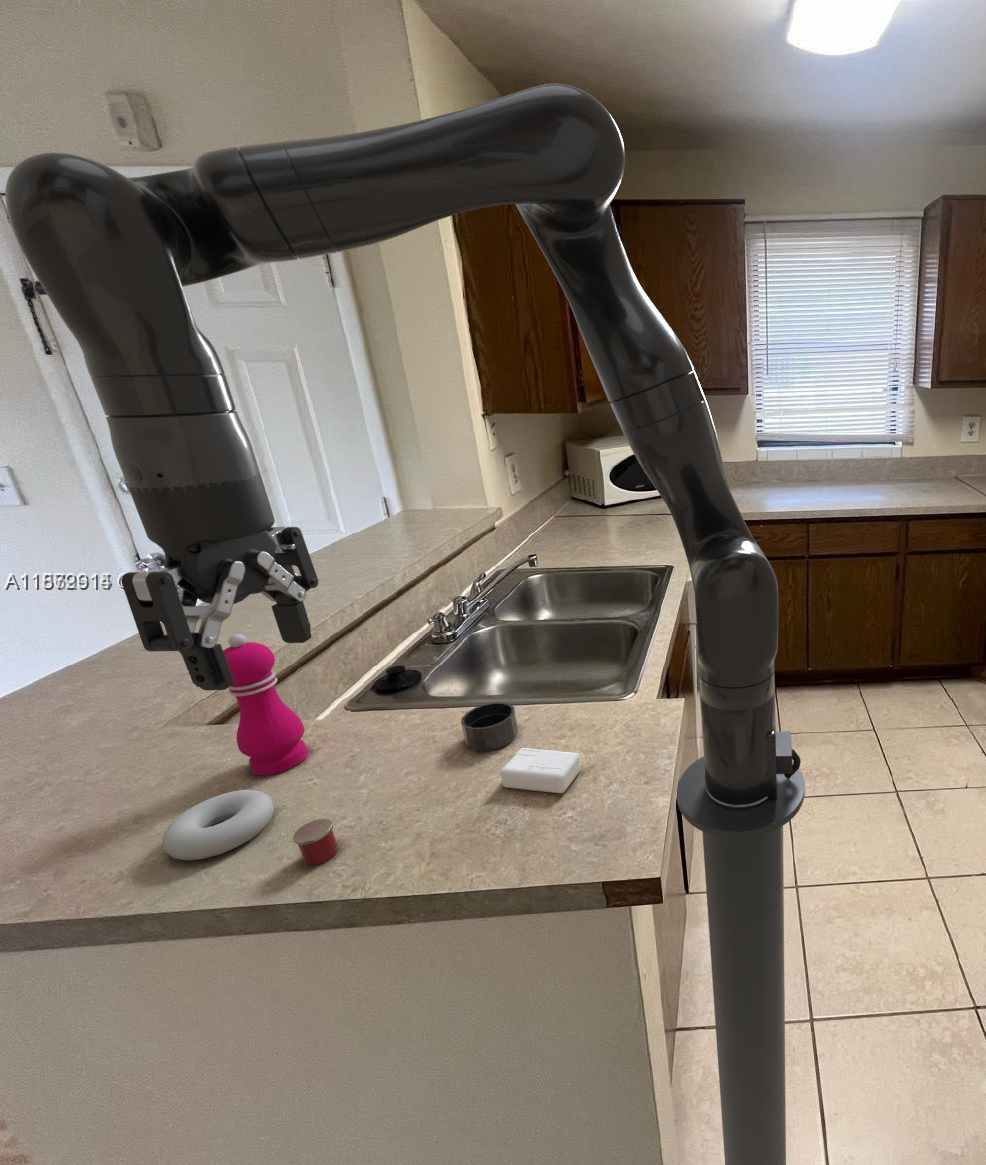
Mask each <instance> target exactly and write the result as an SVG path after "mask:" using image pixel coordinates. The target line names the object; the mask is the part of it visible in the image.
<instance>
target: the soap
mask: <svg viewBox="0 0 986 1165" xmlns="http://www.w3.org/2000/svg"><path fill="white" fill-rule="evenodd" d="M581 769H582V763H581V757H580V755H579V753H577V752H570V751H560V750H550V749H549V750H548V749H540V748H530V747H521V748H520V749H519V750H518V751H517V752H516V753H515V754H514V755H513V757H512V758H510V759H509V761H508V762H507V763H506V764H505V765H504V766H503V767H501V769H500V772H499V773H500V774H499V775H500V779H501V783H502V784H501V785H502V786H503V787H504V788H508V789H509V788H510V789H519V790H527V791H536V792H545V793H546V792H547V793H553V794H563V793H565V792H566V791H567V789H568V788H569V787H570V785H571V784H572V782H574V780H575V779H576V777H577V776H578V774H579V773H580V772H581Z"/></svg>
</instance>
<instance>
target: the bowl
mask: <svg viewBox="0 0 986 1165" xmlns="http://www.w3.org/2000/svg"><path fill="white" fill-rule="evenodd" d="M460 720H461V721H460V725H461V730H462V734H463V738H464V743H465V745H466V746H467V747H468V748H469V749H470V750H471V751H473V752H477V753H479V752H480V753H484V752H485V753H486V752H492V751H496V750H499V749H501V748H504V747H506V746H508V745H509V744H511V743H512V742H513V741H514V740H515V739H516V738H517V736H518V733H519V726H518V724H519V723H518V720H517V715H516V709H515V707H514V706H513V705H512V704H511V703H508V702H503V701H500V702H499V701H497V702H496V701H495V702H489V703H484V704H482V705H481V704H480V705H478V706H476V707H474V708H471V710H469V711H467V712H466V713H465V714H464V715H463V716H462V717H461V719H460Z"/></svg>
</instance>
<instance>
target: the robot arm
mask: <svg viewBox="0 0 986 1165" xmlns="http://www.w3.org/2000/svg"><path fill="white" fill-rule="evenodd" d="M625 151H626V150H625V145H624V141H623V137H622V135H621V131H620V129H619V127H618V125H617V123H616V121H615V120H614V118H613V116H612V115H611V113H610V112H609V110H608V109H607V108H606V106H604V105H603V104H602V103H601V102H600V101H599V100H598V99H596V98H595V96H593V95H592V94H590V93H588V92H587V91H585V90H583V89H582V88H580V87H579V88H578V87H576V86H574V85H570V84H567V83H559V82H551V83H545V84H540V85H536V86H533V87H528V88H525V89H522V90H519V91H516V92H513V93H509V94H506V95H504V96H501V97H498V98H495V99H492V100H489V101H487V102H483V103H480V104H478V105H473V106H470V107H467V108H464V109H460V110H457V111H452V112H449V113H448V112H447V113H445V114H440V115H437V116H433V117H428V118H424V119H419V120H416V121H411V122H407V123H403V124H398V125H393V126H388V127H382V128H376V129H372V130H371V129H370V130H365V131H360V132H353V133H345V134H338V135H331V136H330V135H329V136H322V137H313V138H304V139H294V140H286V141H285V140H284V141H276V142H268V143H259V144H250V145H249V144H248V145H239V147H237V146H232V147H226V148H220V149H216V150H211V151H208V152H204V153H202V154H201V155H199V156H198V157H197V158H196V160H195V161H194V164H193V166H192V167H189V168H185V169H179V170H174V171H173V170H172V171H167V172H161V173H155V174H150V175H144V176H143V175H142V176H134V177H126V176H125V175H124V174H122V173H120V172H119V171H117V170H115V169H113V168H112V167H109V166H107V165H105V164H103V163H100V162H98V161H96V160H93V159H90V158H87V157H84V156H80V155H75V154H71V153H63V152H44V153H38V154H34V155H31V156H29V157H27V158H25V159H23V160H22V161H20V162H19V163H17V165H16V166H14V168H13V169H12V170H11V172H10V173H9V176H8V178H7V180H6V185H5V194H4V196H5V197H4V198H5V206H6V211H7V215H8V218H9V222H10V225H11V228H12V232H13V233H14V236H15V238H16V241H17V243H18V245H19V248H20V249H21V252H22V253H23V255H24V257H25V259H26V261H27V263H28V264H29V266H30V268H31V270H32V272H33V274H34V275H35V276H36V278H37V280H38V282H39V284H40V285H41V287H42V288H43V290H44V293H46V295H47V297H48V299H49V300H50V302H51V303H52V305H53V307H54V308H55V310H56V312H57V313H58V315H59V316H60V319H61V320H62V321H63V323H64V324H65V325H66V328H68V330H69V331H70V333H71V334H72V336H73V337H74V339H75V340H76V342H77V343H78V345H79V347H80V349H81V352H82V355H83V358H84V362H85V366H86V369H87V372H88V375H89V377H90V380H91V382H92V385H93V387H94V390H95V392H96V395H97V398H98V400H99V402H100V405H101V409H102V410H103V414H104V415H105V419H106V422H107V426H108V430H109V434H110V435H109V436H110V441H111V445H112V449H113V452H114V455H115V458H116V460H117V462H118V465H119V468H120V471H121V473H122V476H123V478H124V481H125V484H126V485H127V486H126V487H127V488H128V491H129V493H130V496H131V499H132V501H133V503H134V507H135V508H136V511H137V514H138V516H139V519H140V521H141V522H140V523H141V524H142V527H143V530H144V531H145V534H146V537H147V538H148V540H149V541H150V542H152V543H154V544H156V545H157V546H158V547H159V548H160V549H162V551H163V553H164V567H162V568H158V569H155V570H154V569H153V570H150V571H130V572H125V573H124V574H123V575H122V576H121V581H120V582H121V586H122V588H123V591H124V594H125V597H126V599H127V602H128V606H129V609H130V612H131V613H132V617H133V621H134V624H135V626H136V628H137V629H136V630H137V632H138V635H139V638H140V640H141V644H142V646H143V648H144V650H145V651H147V652H153V653H154V652H178V653H180V655H181V657H182V660H183V662H184V664H185V667H186V670H187V671H188V674H189V676H190V679H191V682H192V684H193V685H195V686H196V687H197V688H200V689H201V690H203V691H225V690H227V689H228V687H230V686H232V685H233V684H234V679H233V676H232V673H231V671H230V668H229V665H228V663H227V660H226V657H225V654H224V652H223V650H224V649H223V647H222V644H221V643H217V642H218V640H219V636H220V632H221V628H222V626H223V625H222V624H223V622H224V621H225V620H227V619H228V618H230V616H231V614H232V611H233V606H234V605H236V604H238V603H240V602H242V601H244V600H245V599H247V598H248V597H249V596H250V595H254V594H255V595H256V594H262V595H263V597H266V598H267V599H268V600H270V601H271V602H274V603H275V604H273V605H271V610H272V613H273V616H274V618H275V621H276V625H277V627H278V631H279V635H280V637H281V640H282V641H283V642H284V643H285V644H303V643H304V644H305V643H306V642H308V641H309V640H310V639H311V638H312V632H311V631H312V630H311V622H310V620H309V616H308V613H307V610H306V606H305V602H304V601H305V600H306V599H307V593H308V591H309V590H310V589H316V588H317V587H318V585H319V578H318V575H317V572H316V570H315V567H314V563H313V561H312V558H311V555H310V552H309V549H308V547H307V543H306V541H305V538H304V535H303V532H302V529H301V528H300V527H298V526H274V524H275V522H276V520H275V519H276V518H275V515H274V513H273V509H272V506H271V502H270V500H269V496H268V493H267V490H266V487H265V484H264V480H263V478H262V473H261V471H260V467H259V464H258V462H257V458H256V454H255V450H254V449H253V445H252V442H251V439H250V438H249V435H248V433H247V430H246V429H245V427H244V425H243V423H242V421H241V418H240V416H239V413H238V411H236V409H237V408H236V405H235V401H234V399H233V395H232V392H231V388H230V386H229V382H228V378H227V376H226V375H225V374H226V373H225V370H224V368H223V363H222V361H221V359H220V357H219V354H218V353H217V350H216V348H215V347H214V345H213V343H212V342H211V341H210V340H209V338H207V337H206V336H205V334H204V333H203V332H202V331H201V330H200V328H199V327H198V325H197V323H196V320H195V319H194V316H193V312H192V309H191V306H190V303H189V300H188V298H187V295H186V292H185V290H184V289H185V288H184V287H188V286H193V285H198V284H201V283H205V282H209V281H213V280H217V279H219V278H223V277H226V276H229V275H233V274H237V273H239V272H242V271H246V270H249V269H251V268H254V267H256V266H261V265H264V264H273V263H283V262H292V261H297V260H298V259H299V260H303V259H308V258H309V259H310V258H314V257H319V256H320V257H321V256H326V255H331V254H336V253H342V252H349V251H352V250H357V249H362V248H365V247H371V246H373V245H377V244H380V243H383V242H386V241H389V240H392V239H395V238H397V237H400V236H403V235H406V234H407V233H410V232H412V231H414V230H417V229H420V228H422V227H425V226H427V225H430V224H432V223H435V222H436V221H437V222H438V221H441V220H443V219H447V218H448V217H452V216H455V215H458V214H463V213H467V212H470V211H475V210H479V209H483V208H490V207H496V206H506V205H515V207H516V208H517V210H518V211H519V214H520V215H521V217H522V219H523V221H524V223H525V224H526V226H527V227H528V230H529V231H530V233H531V234H532V237H533V238H534V240H535V242H536V243H537V244H538V247H539V248H540V250H541V252H542V254H543V256H544V258H545V259H546V261H547V263H548V265H549V267H550V269H551V270H552V272H553V274H554V276H555V278H556V280H557V281H558V283H559V285H560V287H561V289H562V290H563V293H564V295H565V298H566V299H567V301H568V303H569V306H570V309H571V311H572V312H573V316H574V318H575V322H576V324H577V327H578V329H579V333H580V335H581V337H582V340H583V342H584V345H585V348H586V350H587V352H588V354H589V356H590V360H591V362H592V364H593V367H594V369H595V371H596V373H597V376H598V378H599V381H600V383H601V386H602V388H603V391H604V393H605V396H606V398H607V400H608V402H609V405H610V407H611V408H612V411H613V414H614V416H615V418H616V420H617V422H618V424H619V427H620V429H621V432H622V434H623V436H624V438H625V439H626V442H627V443H628V445H629V448H630V449H631V451H632V453H633V454H634V456H635V458H636V460H637V461H638V463H639V465H640V467H641V468H642V470H643V471H644V473H645V475H646V477H648V479H649V481H650V482H651V484H652V485H653V487H654V489H655V490H656V491H657V493H658V495H660V497H661V499H662V500H663V503H665V505H666V507H667V508H668V510H669V513H670V515H671V517H672V519H673V523H674V524H675V527H676V529H677V533H678V535H679V538H680V541H681V544H682V547H683V550H684V554H685V556H686V559H687V560H686V561H687V563H688V567H689V571H690V577H691V582H692V587H693V592H694V604H695V605H694V606H695V618H696V619H695V620H696V633H697V634H696V635H697V670H698V686H699V703H700V717H701V718H700V719H701V731H702V732H701V733H702V734H701V735H702V747H703V748H702V749H703V750H702V752H703V756H704V765H705V791H706V794H707V796H708V797H709V799H710V800H711V801H712V802H714V803H715V804H717V805H719V806H721V807H724V808H727V809H734V810H744V809H750V808H754V807H757V806H759V805H762V804H763V803H765V802H767V801H770V800H776V799H777V776H776V774H784V776H785V777H786V778H788V779H789V778H790V777H791V776H792V775H793V774H794V773H796V772H797V770H798V769H799V770H800V768H801V763H802V762H801V757H800V756H799V754H798V753H797V752H796V750H795V749H793V747H792V732H791V730H790V731H789V730H788V731H787V730H786V731H785V730H784V731H777V730H776V729H777V728H776V727H777V726H776V725H777V724H776V683H775V682H776V680H775V679H776V678H775V676H776V675H775V674H776V673H775V669H776V666H775V665H776V661H775V660H776V656H777V654H778V649H779V618H780V616H779V615H780V614H779V613H780V611H779V610H780V608H779V606H780V603H779V602H780V601H779V583H778V578H777V575H776V572H775V570H774V568H773V565H772V564H771V563H770V561H769V560H768V558H767V556H766V555H765V553H764V551H763V550H762V548H761V547H760V546H759V544H758V543H757V541H756V540H755V538H754V536H753V533H752V532H751V531H750V529H749V526H748V525H747V523H746V521H745V519H744V517H743V515H742V513H741V511H740V509H739V507H738V505H737V503H736V501H735V498H734V496H733V494H732V491H731V488H730V487H729V483H728V480H727V475H726V472H725V466H724V462H723V457H722V452H721V448H720V444H719V439H718V435H717V431H716V428H715V425H714V424H715V423H714V420H713V417H712V414H711V411H710V408H709V405H708V402H707V399H706V396H705V394H704V391H703V389H702V387H701V384H700V381H699V379H698V376H697V374H696V371H695V370H694V369H695V368H694V365H693V364H692V361H691V359H690V357H689V354H688V353H687V351H686V349H685V347H684V345H683V344H682V342H681V340H680V339H679V337H678V336H677V334H676V333H675V332H674V330H673V328H672V327H671V325H670V324H669V323H668V322H667V320H666V319H665V317H664V316H663V315H662V313H661V312H660V310H659V309H658V308H657V306H656V305H655V304H654V303H653V301H652V300H651V298H650V297H649V296H648V294H647V293H646V292H645V290H644V288H643V286H642V285H641V283H640V281H639V280H638V278H637V276H636V274H635V272H634V270H633V267H632V265H631V263H630V261H629V258H628V255H627V253H626V250H625V247H624V245H623V241H622V239H621V236H620V233H619V230H618V227H617V224H616V221H615V217H614V214H613V211H612V206H611V203H612V201H613V199H614V197H615V196H616V194H617V192H618V190H619V188H620V186H621V182H622V179H623V177H624V172H625V166H626V165H625V164H626V152H625ZM293 567H296V568H297V569H298V571H299V575H296V572H295V570H294V568H293ZM198 600H199V601H201V602H203V603H206V604H208V605H201V606H200V605H197V602H198ZM199 621H200V624H199V629H198V631H197V632H195V630H196V627H197V624H198V622H199ZM162 624H163V626H164V629H165V632H166V634H165V632H164V630H163V627H162ZM792 762H793V765H792Z"/></svg>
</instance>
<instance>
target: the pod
mask: <svg viewBox="0 0 986 1165" xmlns="http://www.w3.org/2000/svg"><path fill="white" fill-rule="evenodd" d="M333 828H334V823H333V821H332V820H331V819H329V818H319V819H314V820H312V821H309V822H307V823H305V824H303V825H302V826H300V827H299V828H298V829H297V830H295V832H294V833H293V836H292V840H293V842H294V843H295V844H296V845H297V846H298V849H299V851H300V854H301V858H302V860H303V863H304V864H305V865H307V866H317V865H321V864H323V863H325V862H328V861H329V860H331V859H332V858H333V857H334V856H336V854H337V853H338V852H339V846H338V842H337V839H336V836H335V834H334V830H333Z"/></svg>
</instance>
